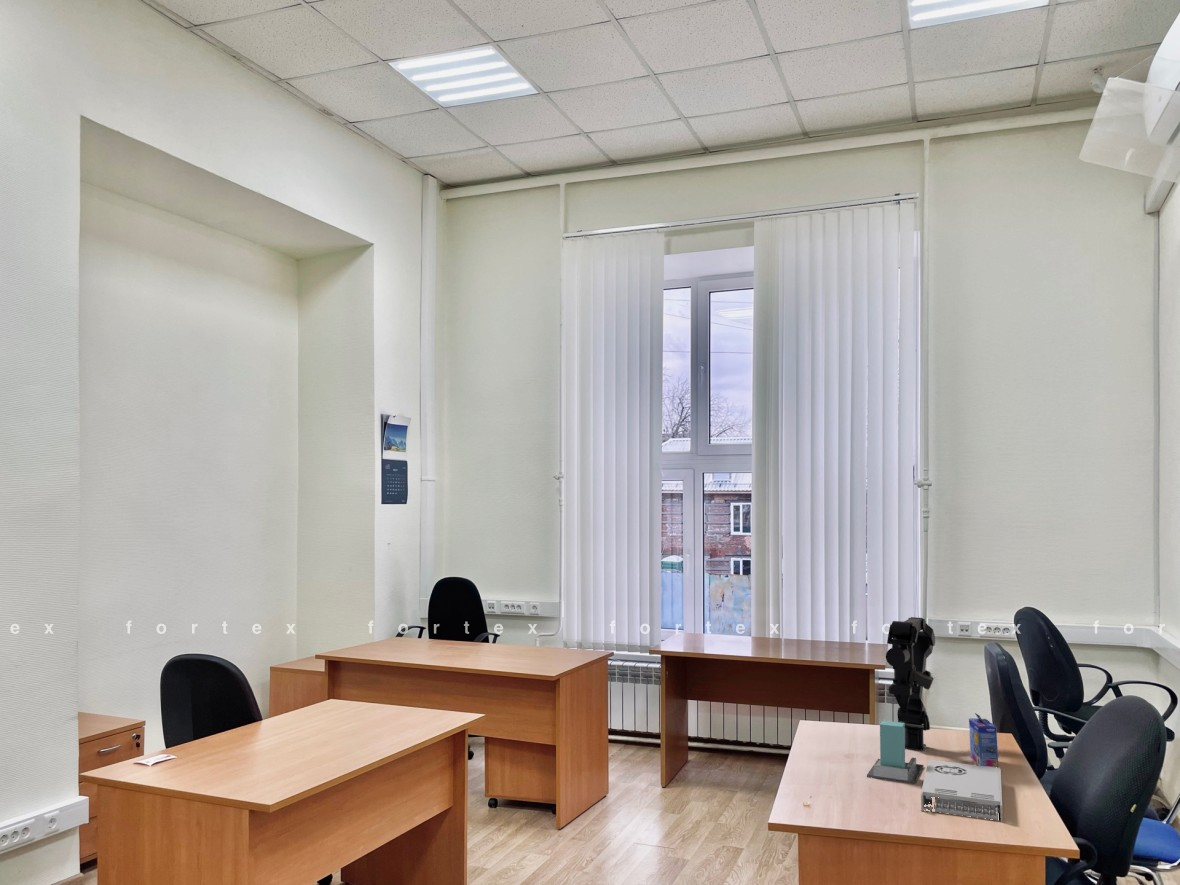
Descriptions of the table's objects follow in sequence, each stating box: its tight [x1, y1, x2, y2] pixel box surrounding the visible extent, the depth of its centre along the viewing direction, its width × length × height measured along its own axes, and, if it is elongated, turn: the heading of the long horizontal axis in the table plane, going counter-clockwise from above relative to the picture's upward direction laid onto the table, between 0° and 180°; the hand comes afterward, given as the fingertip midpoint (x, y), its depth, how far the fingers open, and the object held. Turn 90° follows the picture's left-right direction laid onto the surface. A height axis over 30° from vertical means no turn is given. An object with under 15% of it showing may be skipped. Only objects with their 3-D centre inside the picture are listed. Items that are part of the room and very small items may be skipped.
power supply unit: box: [920, 759, 1004, 823], centre depth 239 cm, size 19×33×5 cm, turn 156°
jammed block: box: [879, 720, 906, 768], centre depth 257 cm, size 5×6×14 cm
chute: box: [866, 757, 924, 785], centre depth 260 cm, size 18×13×4 cm
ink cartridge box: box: [968, 712, 1000, 768], centre depth 270 cm, size 10×6×14 cm, turn 174°
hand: (904, 713), depth 277 cm, fingers closed
